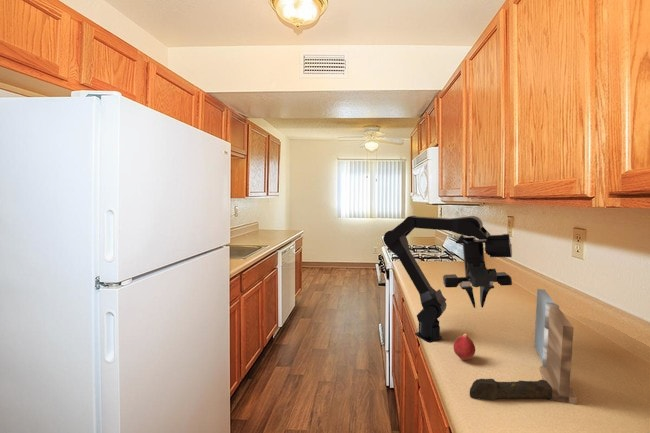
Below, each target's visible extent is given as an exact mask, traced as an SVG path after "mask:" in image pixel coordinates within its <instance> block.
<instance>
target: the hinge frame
mask: <svg viewBox="0 0 650 433" xmlns="http://www.w3.org/2000/svg"><path fill="white" fill-rule="evenodd" d="M545 328H547V329H548V345H547V348H545V347H544V346H543V362H542V361H541V363H542V364H541V365H542V366H539V373H540V375H541V380H546V381H547V382H548V383H549V384H550V385H551V387H552V391H553V392H552V399H551V400H553V401H556V402H557V401H558V402H561V403H567V404H572V405H576V406H577V403H578V398H577V396H576V394H575V392H574V390H573V388H572V386H571V376H572V375H571V374H572V356H573V344H574V328H575V327H574V326H573V325H572V323H571V322H570V321H569V319H568V318H567V317H566V316H565V314H564V313H563V311H562V310H561V309H560V305H559V304H557V303H555V304H553V303H546V309H545Z"/></svg>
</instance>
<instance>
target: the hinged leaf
mask: <svg viewBox="0 0 650 433" xmlns="http://www.w3.org/2000/svg"><path fill="white" fill-rule="evenodd" d="M536 291H537V292H536V308H535V324H534V325H535V326H534V339H533V340H534V343H533V344H534V347H535V350H536V351H537V353H538V357H539V359H540V360H541V363H542V362H543V346H544V347H545V348H547V345H548V329H547V328H545V309H546V303H553V304H556V303H555V301H554V300H553V298H552V297H551V296H550V294H549V293H548V292H547V291H546V289H544V288H543V289H542V288H537V289H536Z"/></svg>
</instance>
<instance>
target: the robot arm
mask: <svg viewBox="0 0 650 433" xmlns="http://www.w3.org/2000/svg"><path fill="white" fill-rule="evenodd" d="M483 225H484V224H483V221H482V219H480V217H478V216H475V215H470V216H460V217H459V216H458V217H452V218H451V217H450V218H447V217H433V216H429V217H428V216H418V215H410V216H407V217H406V218H404V220H403V221H402V222H401V223H400V224H399V223H398V225H397V226H396V227H394V228H393V229H391V230H388V231H386V232H385V233H384V235H383V238H382V239H383V243H384V245H385V246H386V247H387V248H388V250H389V251H390V252H392V253H393V254H394V255H396V257H397V258H398V259H399V261H400V263H401V265H402V266H403V269H404V270H405V272H406V274H407V275H408V277H409V278H410V280H411V283H412V284H413V285H414V287H415V289H416V290H417V292H418V294H419V299H420V305H421V307H422V309H421V310H420V312H418V314H416V319H417V322H418V331H417V332H415V333H414V335H415V336H416V337H418V338H420V339H422V340H424V341H426V342H427V343H431V342H434V341H437V340H440V339H441V340H442V339H443V335H441V326H440V320H439V318H440V317H442V315H443V313H444V312H445V311H446V309H447V298H445V297H444V295H443V293H442V291H441V289H437V290H436V289H434V288H433V287H432V286H431V284H430V283H429V281H428V279H427V277H426V275H425V274H424V272H423V270H422V269H421V267H420V265H419V264H418V262H417V261H416V259H415V257H414V255H413V253H412V251H411V250H410V246H409V245H410V244H409V240H408V237H407V236H408V235H409V234H410V233H411V232H413V230H414V229H423V230H424V229H426V230H436V231H448V232H451V233H455V234H457V235H458V234H459V235H460V236H459V237H458V239H457V240H456V241H455V244H462V249H463V251H462V252H463V260H464V274H465V276H461V277H460V276H459V277H458V275H456V274H444V275H443V276H442V283H443V285H444V288H457V287H458V286H459V287H460V288H461V289H462V290H465V292H466V294H467V295H468V298H469V300H470V303H471V304H472V307H473V308H474V309H475V308H476V301H475V296H474V288H479V295H480V296H479V302H480V303H479V304H480V307H481V308H484V307H485V302H486V299H487V296H488V294H489V292H490V290H492V289H495V286H494V283H497V284H499V285H500V286H501V287H502V286H512V285H513V281H512V276H511V275H510V274H508V273H506V272H505V271H504V272H503V271H501V272H500V271H499V272H497V270H496V268H487V265H486V261H485V260H486V259H485V254H486V255H487V256H489V258H512V257H513V248H512V243H511V238H510V234H509V233H504V234H491V233H489V231H488V230H487V229H486V228H485V227H484V226H483Z"/></svg>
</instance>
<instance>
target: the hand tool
mask: <svg viewBox="0 0 650 433" xmlns="http://www.w3.org/2000/svg"><path fill="white" fill-rule="evenodd" d="M552 392H553V391H552V387H551V385H550V384H549V383H548V382H547V381H546V380H543V379H540V380H517V381H500V380H499V381H497V380H495V379H494V378H479V379H478V378H477V379H475V380H474V381H473V383H472V384H471V386H470V388H469V397H470V398H473V399H475V400H477V399H478V400H484V401H485V400H486V401H496V399H501V398H503V399H504V398H505V399H509V398H510V399H511V398H512V399H515V398H537V399H538V398H545V399H547V400H548V401H550V400H552Z"/></svg>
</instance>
